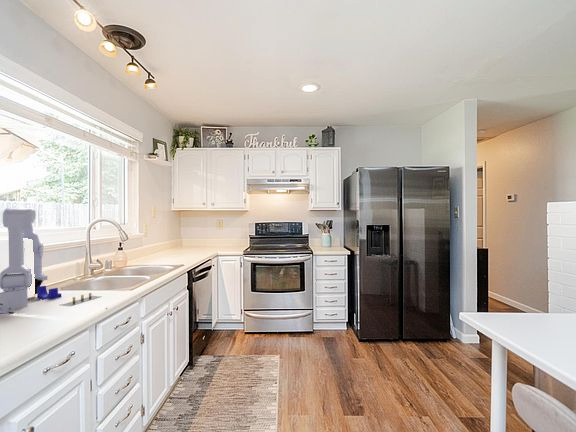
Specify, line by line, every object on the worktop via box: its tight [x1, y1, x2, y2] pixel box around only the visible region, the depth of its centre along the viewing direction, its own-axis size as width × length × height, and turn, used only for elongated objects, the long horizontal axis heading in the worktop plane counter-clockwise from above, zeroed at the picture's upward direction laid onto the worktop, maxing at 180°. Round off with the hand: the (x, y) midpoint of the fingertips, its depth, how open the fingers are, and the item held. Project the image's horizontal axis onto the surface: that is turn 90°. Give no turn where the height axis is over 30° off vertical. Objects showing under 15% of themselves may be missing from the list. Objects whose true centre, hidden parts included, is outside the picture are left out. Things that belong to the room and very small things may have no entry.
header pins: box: [72, 292, 92, 303], centre depth 140 cm, size 9×1×3 cm, turn 164°
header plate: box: [59, 295, 102, 307], centre depth 140 cm, size 16×7×1 cm, turn 164°
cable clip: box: [36, 285, 62, 301], centre depth 148 cm, size 12×4×6 cm, turn 63°
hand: (34, 294), depth 152 cm, fingers closed
